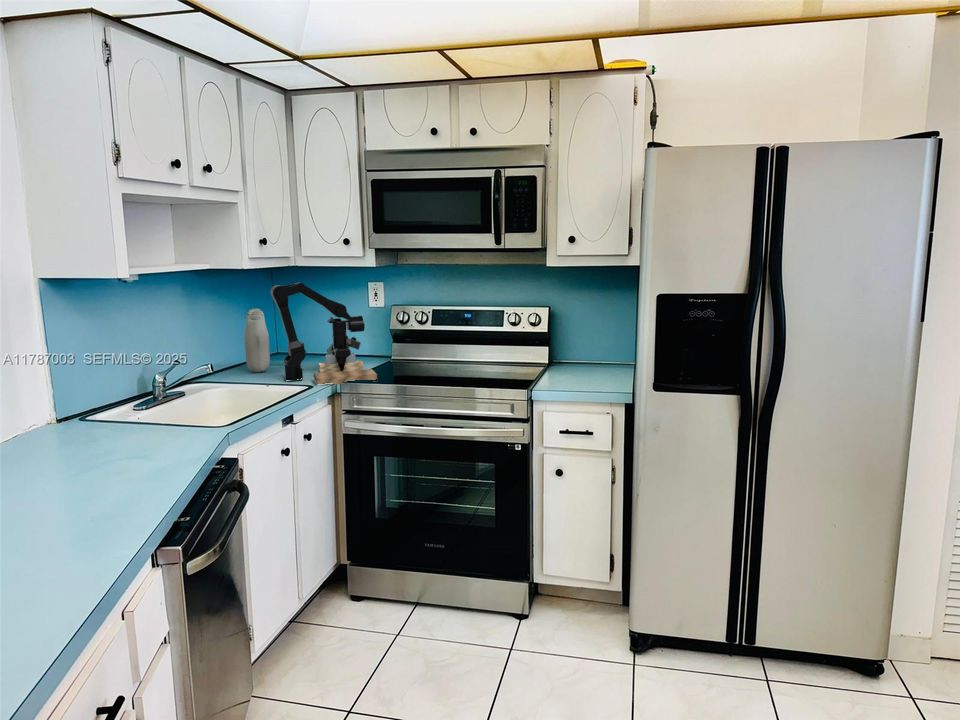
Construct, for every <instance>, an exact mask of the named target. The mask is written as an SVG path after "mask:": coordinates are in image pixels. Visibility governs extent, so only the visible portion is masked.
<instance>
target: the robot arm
mask: <svg viewBox="0 0 960 720" xmlns="http://www.w3.org/2000/svg"><path fill="white" fill-rule="evenodd" d="M299 293H300V294H301V295H303V296H304V297H306V298H308V299H310V300H311V301H314V302H315V303H316V304H318V305H321V306H322V307H323V308H324V309H325V310H327V311H328V312H329V313H330V314H331V315H332V316H334V317H335V318H334V317H332V316H330V318H329V319H328V320H327V323H328V324H331V325H332V328H331V329H332V336H331V337H332V343H331V344H330V346H329V347H330V350H331V351H332V350H334V351H332V354H335V355H334V356H335V358H336V362H337V363H338V365H339V367H340V370H341V371H343V370H344V365H345V360H346V358H347V357H348V356H349V355H351V353H352V351H351V349H350V350H349V349H348V348H349V347H350V348H352V349H355V350H359V349H360V346H361V343H362V342H360V341H359V340H357V338H356V337H354V336H352V337H351V338H349V336H348V335H347V331H349V332H350V333H358V332H359V333H361V332H364V331H365V326H366V325H365V321H364V318H363V317H364V316H363V315H357V316H356V315H355V316H351V314H349V312H348V310H347V307H346V305H344V304H343V303H339V302H337V301H334V300H331V299H329V298H327V297H326V296H323V295H322V294H320V293H319V292H317V291H315V290H314V289H312V288H310V287H308V286H307V285H305V284H304V283H302V282H300V281H299V282H296V283H291V284H286V285H279V284H277V285H276V284H275V285H274V286H272V287H271V289H270V295H271V298H272V299H273V301H274V303H275V305H276V306H277V308H278V311H279V315H280V319H281V323H282V325H283V329H284V332H285V337H286V339H287V352H288V354H287V355H286V356H285V357H284V358H283V362H284V364H285V365H284V380H285V379H286V380H297V379H301V378H302V379H303V378H304V375H303V374H304V371H303V368H302V365H301V364H302V362H303V361H304V360H305V359H306V354H307V350H306V349H305V344H304V343H303V342H302V341H299V339H298V336H297V332H296V329H295V326H294V325H295V324H294V321H293V318H292V315H291V312H290V308H289V297H290V296H293V295H297V294H299ZM342 319H344V320H342Z"/></svg>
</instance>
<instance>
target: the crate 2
mask: <svg viewBox="0 0 960 720" xmlns="http://www.w3.org/2000/svg"><path fill="white" fill-rule="evenodd" d="M356 361H357V360H356V354H355V353H354V352H351V355H349V356H348V357H347V358H346V360H345V363H356Z"/></svg>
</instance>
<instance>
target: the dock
mask: <svg viewBox="0 0 960 720" xmlns="http://www.w3.org/2000/svg"><path fill="white" fill-rule="evenodd" d="M313 379H314V380H315V381H316V383H317V384H325V383H333V384H334V386H335V385H343V384H342V383H343V382H347V381H355V380H376V379H377V380H378V374H377V373H376V371H374V370H373V369H372V368H371V369H363V370H354V371H341V372H327V373H319V372H316V373H313ZM315 381H314V382H315ZM316 383H315V384H316Z"/></svg>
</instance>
